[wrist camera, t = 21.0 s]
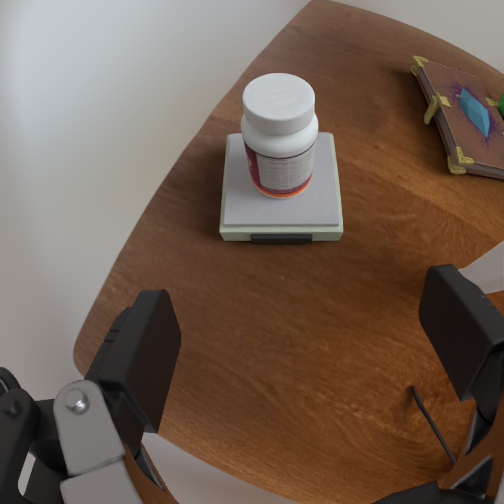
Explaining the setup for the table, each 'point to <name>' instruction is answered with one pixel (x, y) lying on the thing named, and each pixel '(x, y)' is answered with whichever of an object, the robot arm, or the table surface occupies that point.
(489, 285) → the perfume bottle
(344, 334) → the table surface
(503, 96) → the speaker
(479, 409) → the robot arm
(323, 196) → the scale
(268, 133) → the pill bottle
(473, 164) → the book
